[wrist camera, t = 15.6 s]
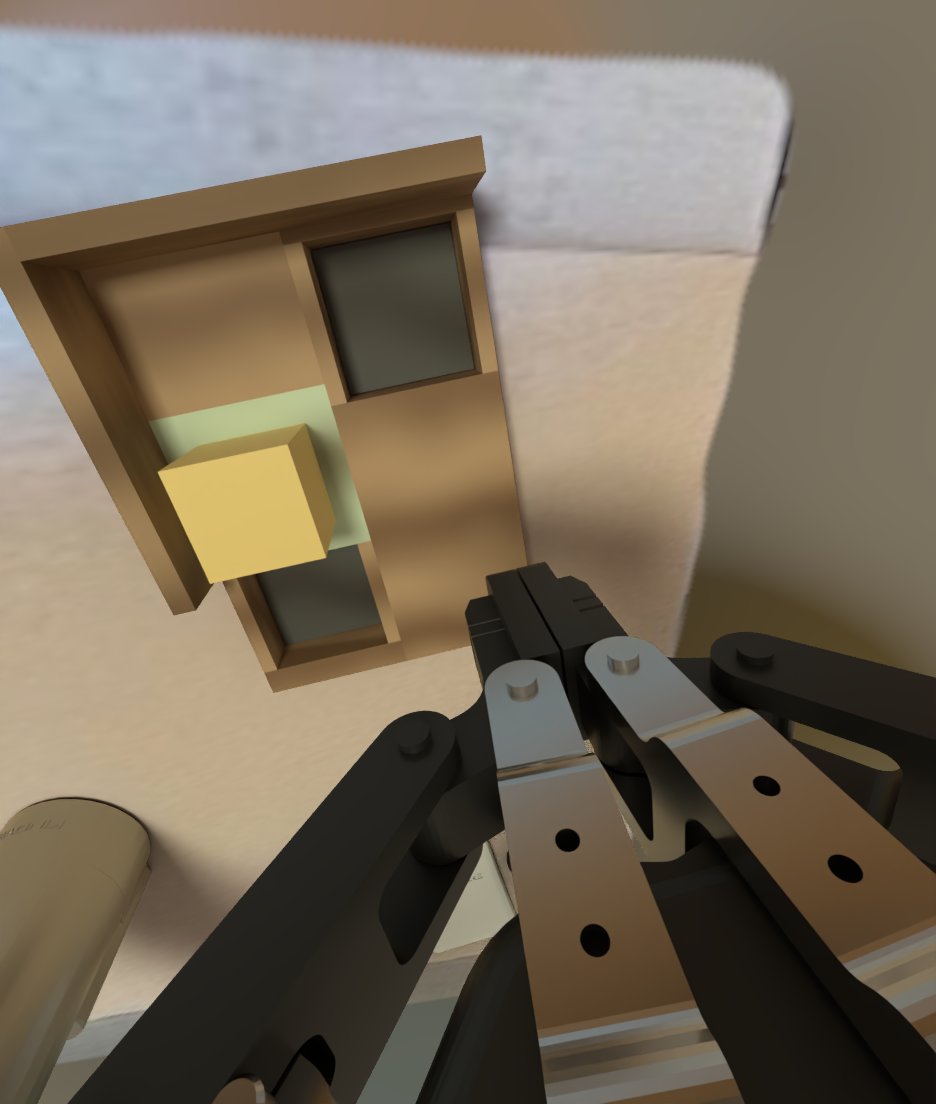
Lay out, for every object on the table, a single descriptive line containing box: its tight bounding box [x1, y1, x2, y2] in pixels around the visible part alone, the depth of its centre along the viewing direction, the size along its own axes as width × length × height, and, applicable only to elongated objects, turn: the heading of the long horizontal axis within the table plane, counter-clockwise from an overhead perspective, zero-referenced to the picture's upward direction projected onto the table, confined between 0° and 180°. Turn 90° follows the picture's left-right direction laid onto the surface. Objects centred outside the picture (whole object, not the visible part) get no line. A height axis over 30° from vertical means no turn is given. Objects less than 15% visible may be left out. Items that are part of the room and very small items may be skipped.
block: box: [158, 423, 336, 584], centre depth 22 cm, size 5×5×4 cm
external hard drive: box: [433, 841, 516, 953], centre depth 43 cm, size 2×8×12 cm
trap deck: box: [0, 136, 528, 693], centre depth 24 cm, size 23×17×6 cm
